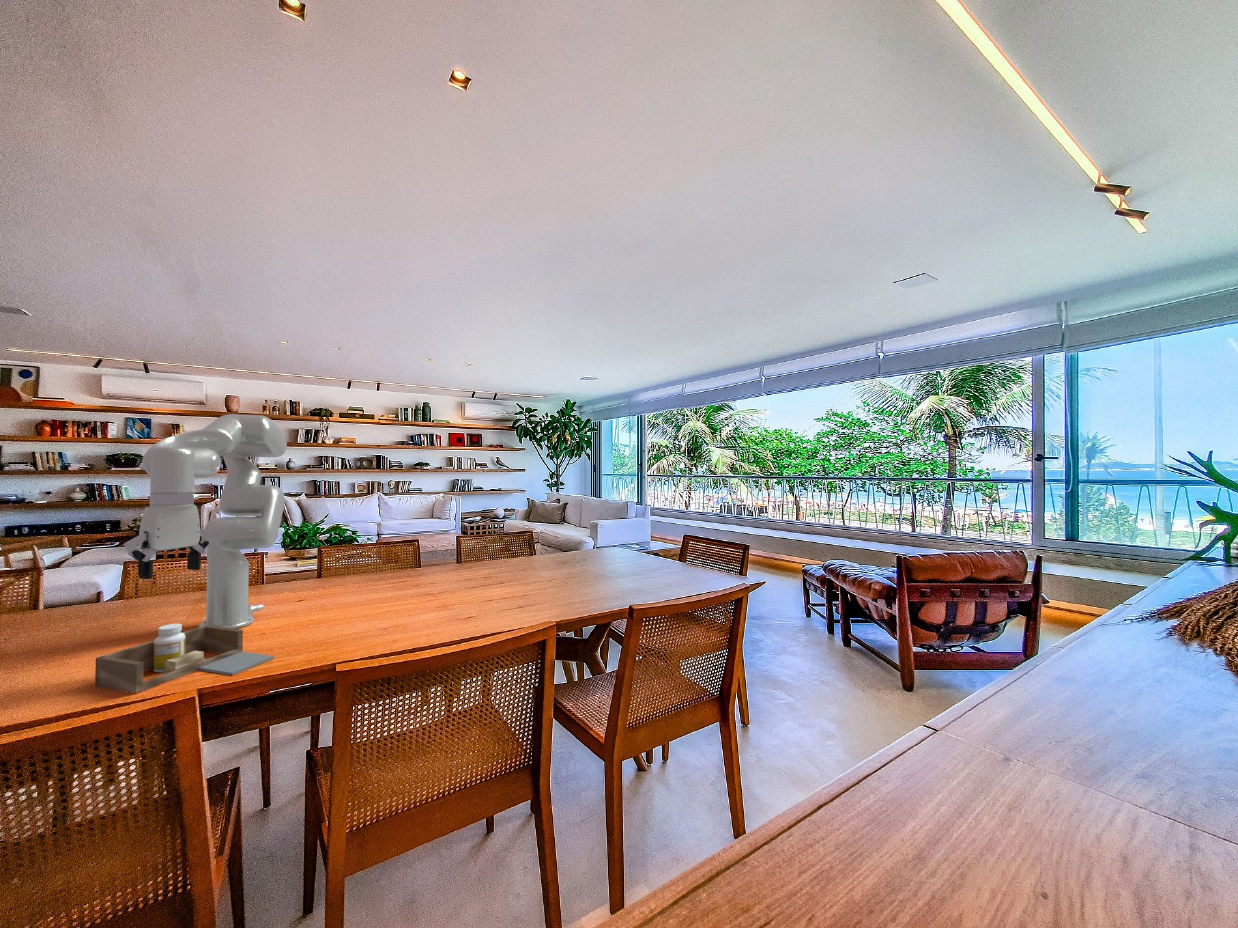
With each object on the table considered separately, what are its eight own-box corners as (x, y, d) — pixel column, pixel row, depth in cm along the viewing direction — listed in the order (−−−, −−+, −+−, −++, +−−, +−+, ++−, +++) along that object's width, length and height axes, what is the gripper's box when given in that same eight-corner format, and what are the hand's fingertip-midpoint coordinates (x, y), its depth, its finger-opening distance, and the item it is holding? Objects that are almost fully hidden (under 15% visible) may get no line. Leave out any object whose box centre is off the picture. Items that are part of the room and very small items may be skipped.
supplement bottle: (166, 663, 115) (167, 622, 115) (191, 662, 115) (191, 622, 115) (146, 673, 110) (147, 630, 110) (172, 672, 110) (172, 629, 110)
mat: (242, 653, 121) (242, 651, 121) (274, 658, 119) (274, 655, 119) (199, 670, 112) (199, 667, 112) (232, 675, 109) (232, 672, 109)
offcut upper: (194, 658, 114) (194, 650, 114) (203, 659, 114) (203, 651, 114) (166, 668, 108) (166, 660, 108) (175, 669, 108) (175, 661, 108)
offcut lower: (197, 665, 115) (197, 657, 115) (205, 667, 114) (205, 658, 114) (162, 678, 108) (163, 669, 108) (171, 679, 107) (172, 670, 107)
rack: (206, 648, 124) (206, 625, 124) (242, 653, 121) (242, 629, 121) (95, 686, 103) (95, 657, 103) (135, 693, 100) (136, 664, 100)
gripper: (200, 497, 122) (199, 565, 122) (114, 502, 105) (112, 581, 105) (223, 498, 120) (221, 567, 120) (139, 503, 103) (137, 583, 103)
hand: (170, 573), depth 112 cm, fingers open, 9 cm apart
